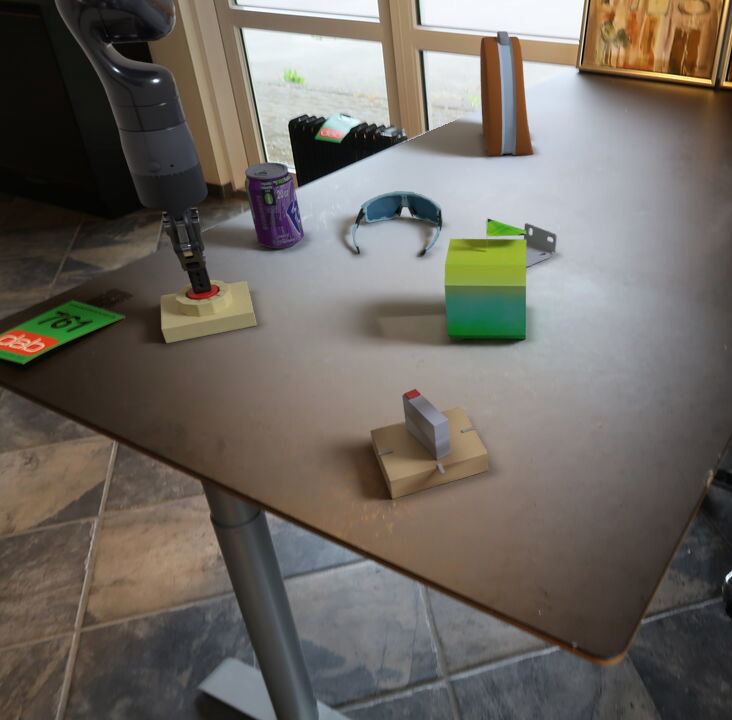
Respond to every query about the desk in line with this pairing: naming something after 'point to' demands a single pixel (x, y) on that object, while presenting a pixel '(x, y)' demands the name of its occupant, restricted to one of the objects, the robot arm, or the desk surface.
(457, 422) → the block
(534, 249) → the bracket
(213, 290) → the release button
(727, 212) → the desk surface
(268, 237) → the beverage can
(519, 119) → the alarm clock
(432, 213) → the sunglasses
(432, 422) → the upright gray plate
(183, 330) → the box
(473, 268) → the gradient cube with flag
